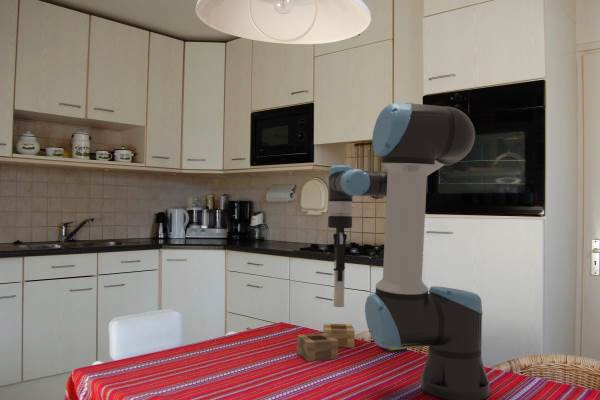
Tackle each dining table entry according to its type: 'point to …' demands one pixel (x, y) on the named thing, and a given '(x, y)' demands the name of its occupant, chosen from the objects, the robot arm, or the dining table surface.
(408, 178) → the robot arm
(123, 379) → the dining table surface
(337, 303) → the needle dowel
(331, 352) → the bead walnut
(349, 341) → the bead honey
